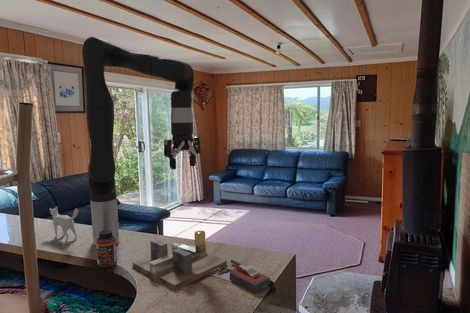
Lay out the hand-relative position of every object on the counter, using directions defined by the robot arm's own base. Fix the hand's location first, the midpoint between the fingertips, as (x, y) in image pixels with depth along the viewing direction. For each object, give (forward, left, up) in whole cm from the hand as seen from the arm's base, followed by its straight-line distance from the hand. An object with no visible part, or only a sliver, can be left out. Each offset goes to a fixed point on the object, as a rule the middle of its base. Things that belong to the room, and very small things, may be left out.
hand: (183, 167), depth 121 cm
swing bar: (+14, -10, -24) cm, 29 cm away
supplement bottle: (-10, -25, -30) cm, 40 cm away
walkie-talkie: (+30, -2, -31) cm, 43 cm away
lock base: (+9, -11, -30) cm, 33 cm away
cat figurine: (-44, -24, -30) cm, 59 cm away
